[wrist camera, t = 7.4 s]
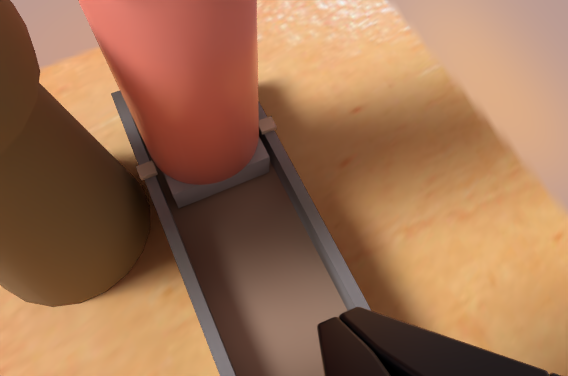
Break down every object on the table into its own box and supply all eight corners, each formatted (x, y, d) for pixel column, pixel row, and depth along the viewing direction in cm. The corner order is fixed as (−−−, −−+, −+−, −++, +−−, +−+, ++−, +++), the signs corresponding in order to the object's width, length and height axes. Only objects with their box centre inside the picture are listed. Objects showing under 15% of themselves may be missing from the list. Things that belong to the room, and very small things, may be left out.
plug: (290, 179, 17) (333, -173, 7) (168, 229, 16) (-12, -94, 6) (240, 84, 19) (210, -316, 8) (127, 124, 18) (-71, -275, 7)
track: (432, 457, 15) (461, 467, 13) (286, 544, 14) (291, 572, 11) (237, 85, 21) (234, 48, 18) (124, 125, 19) (106, 91, 17)
